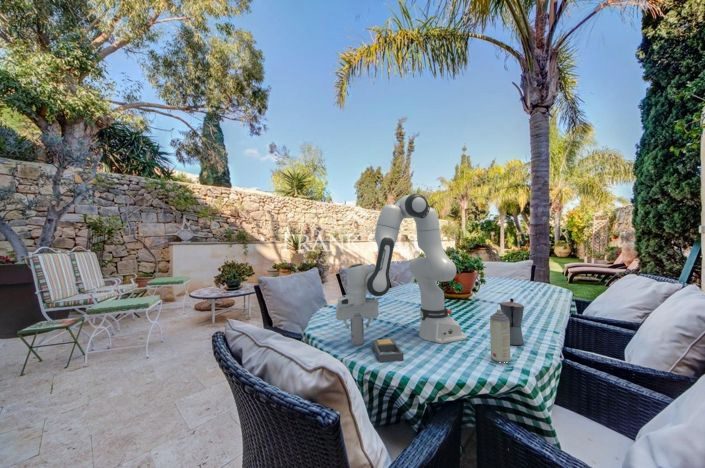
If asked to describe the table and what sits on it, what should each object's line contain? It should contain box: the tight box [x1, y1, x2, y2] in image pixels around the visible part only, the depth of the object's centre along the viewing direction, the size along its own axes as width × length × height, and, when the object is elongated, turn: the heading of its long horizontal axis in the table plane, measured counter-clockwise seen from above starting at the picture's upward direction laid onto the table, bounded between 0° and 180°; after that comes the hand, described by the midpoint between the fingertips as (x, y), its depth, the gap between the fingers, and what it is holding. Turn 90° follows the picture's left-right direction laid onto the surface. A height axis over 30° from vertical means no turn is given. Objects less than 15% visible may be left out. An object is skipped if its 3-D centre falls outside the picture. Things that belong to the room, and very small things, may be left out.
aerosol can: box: [489, 308, 511, 364], centre depth 109 cm, size 7×7×20 cm
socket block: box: [371, 338, 404, 363], centre depth 118 cm, size 10×15×3 cm, turn 7°
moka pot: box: [499, 297, 525, 346], centre depth 125 cm, size 10×15×20 cm, turn 155°
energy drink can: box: [350, 313, 365, 347], centre depth 129 cm, size 6×6×15 cm
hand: (357, 327), depth 129 cm, fingers open, 8 cm apart
